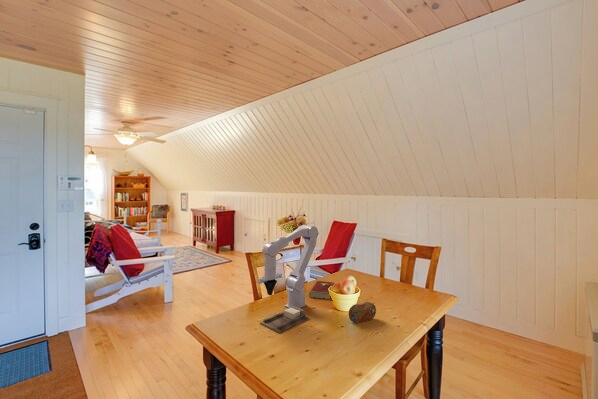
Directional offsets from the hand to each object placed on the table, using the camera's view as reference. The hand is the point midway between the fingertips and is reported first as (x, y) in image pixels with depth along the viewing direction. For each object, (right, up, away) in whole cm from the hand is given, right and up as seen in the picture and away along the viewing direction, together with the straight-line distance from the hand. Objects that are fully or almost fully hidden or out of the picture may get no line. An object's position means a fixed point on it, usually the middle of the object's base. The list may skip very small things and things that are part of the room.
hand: (269, 294), depth 147 cm
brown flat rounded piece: (+45, -11, -7) cm, 47 cm away
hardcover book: (+29, -9, +32) cm, 44 cm away
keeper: (+11, -10, -5) cm, 16 cm away
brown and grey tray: (+8, -10, -9) cm, 15 cm away
